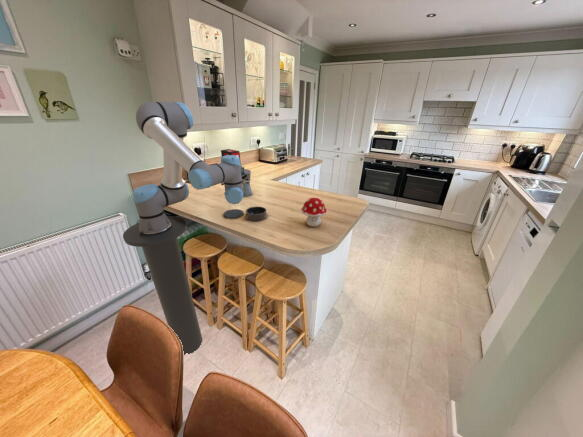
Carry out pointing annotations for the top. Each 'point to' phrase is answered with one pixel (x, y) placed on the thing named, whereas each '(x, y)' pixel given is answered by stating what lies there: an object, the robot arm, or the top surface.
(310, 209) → the decorative mushroom
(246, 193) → the moka pot
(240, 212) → the coaster
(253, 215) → the bowl
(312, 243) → the top surface
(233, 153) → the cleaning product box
